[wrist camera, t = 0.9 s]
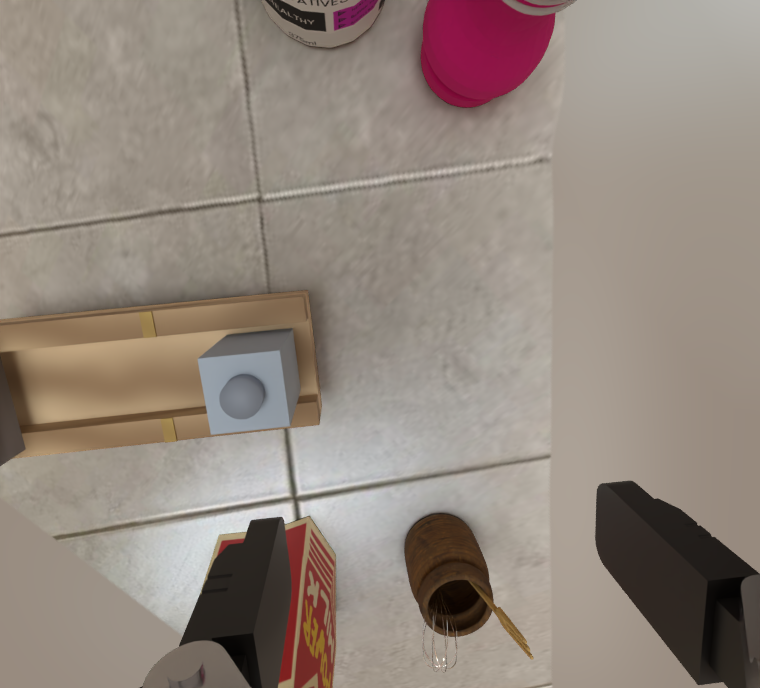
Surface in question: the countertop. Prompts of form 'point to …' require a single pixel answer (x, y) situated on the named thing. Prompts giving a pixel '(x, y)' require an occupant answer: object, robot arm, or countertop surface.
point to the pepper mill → (484, 46)
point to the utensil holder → (451, 580)
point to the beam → (132, 372)
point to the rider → (250, 381)
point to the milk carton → (305, 606)
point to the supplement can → (323, 19)
